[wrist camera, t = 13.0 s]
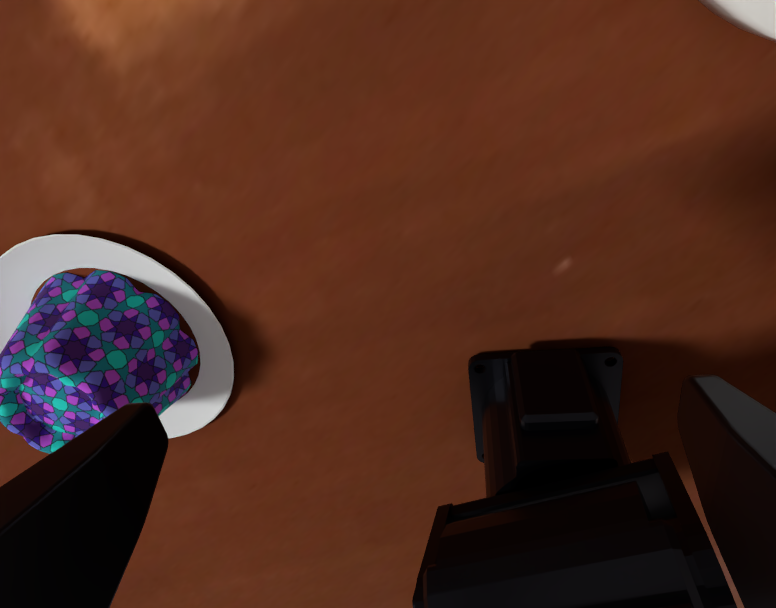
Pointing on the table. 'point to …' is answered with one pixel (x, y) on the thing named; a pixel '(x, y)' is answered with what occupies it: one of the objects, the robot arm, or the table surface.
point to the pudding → (102, 342)
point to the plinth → (747, 15)
